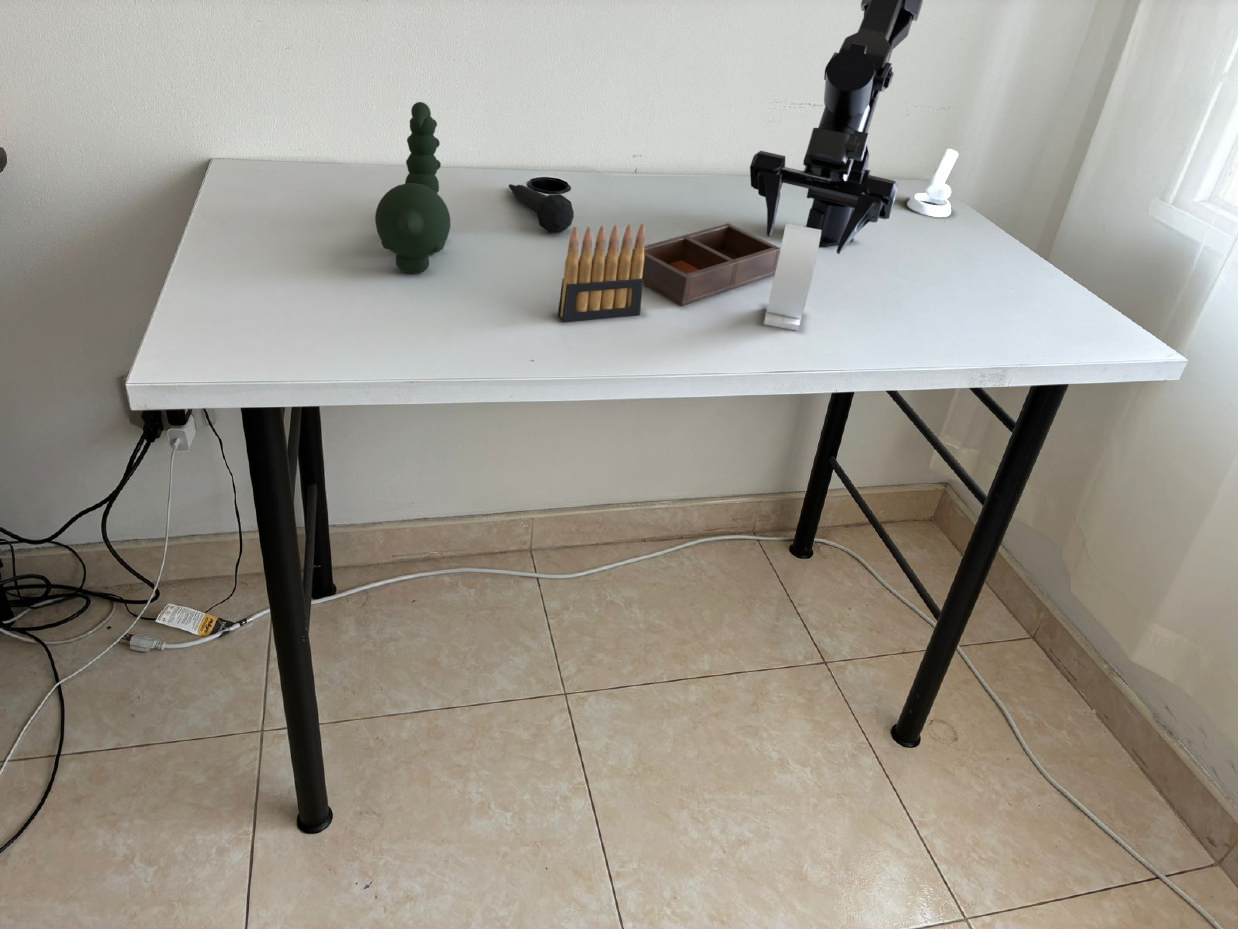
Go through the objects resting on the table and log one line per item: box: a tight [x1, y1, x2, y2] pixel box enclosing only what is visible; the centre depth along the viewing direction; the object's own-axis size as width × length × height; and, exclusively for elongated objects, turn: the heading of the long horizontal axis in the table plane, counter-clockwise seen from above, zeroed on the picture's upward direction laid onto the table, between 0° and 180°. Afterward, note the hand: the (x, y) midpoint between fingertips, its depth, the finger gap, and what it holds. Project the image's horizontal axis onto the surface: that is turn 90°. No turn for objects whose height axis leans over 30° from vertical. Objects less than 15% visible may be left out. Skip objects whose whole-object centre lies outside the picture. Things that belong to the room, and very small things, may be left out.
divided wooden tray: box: [631, 222, 781, 307], centre depth 132 cm, size 20×10×4 cm, turn 133°
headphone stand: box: [763, 223, 821, 332], centre depth 121 cm, size 5×6×12 cm
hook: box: [906, 148, 959, 218], centre depth 167 cm, size 8×12×7 cm
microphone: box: [508, 183, 575, 234], centre depth 144 cm, size 6×6×20 cm
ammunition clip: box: [557, 223, 646, 323], centre depth 117 cm, size 11×2×12 cm, turn 113°
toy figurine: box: [374, 101, 451, 274], centre depth 124 cm, size 9×19×25 cm
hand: (802, 243), depth 121 cm, fingers open, 9 cm apart
